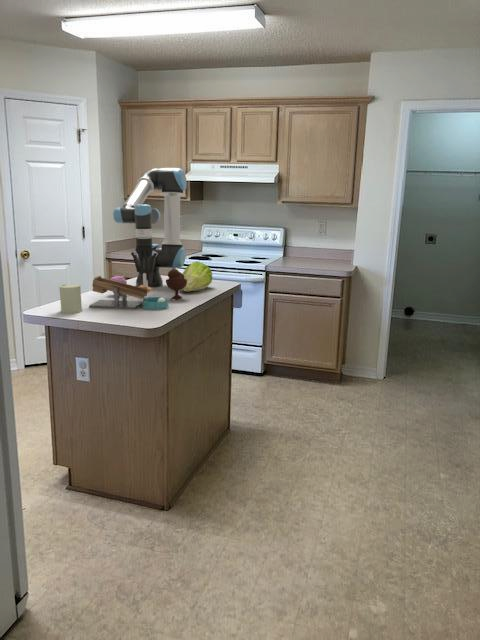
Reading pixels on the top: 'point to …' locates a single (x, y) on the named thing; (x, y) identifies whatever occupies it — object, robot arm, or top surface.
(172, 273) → the ice cream bowl
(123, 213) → the robot arm
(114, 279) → the cupcake
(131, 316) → the top surface
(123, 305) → the chute stand
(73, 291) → the can
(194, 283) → the lettuce
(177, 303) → the top surface
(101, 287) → the chute
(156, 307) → the teal bowl
